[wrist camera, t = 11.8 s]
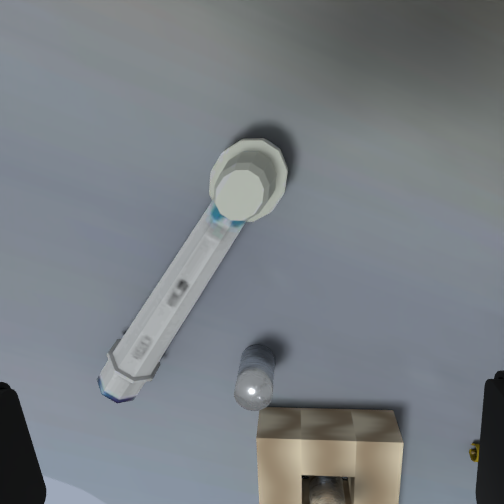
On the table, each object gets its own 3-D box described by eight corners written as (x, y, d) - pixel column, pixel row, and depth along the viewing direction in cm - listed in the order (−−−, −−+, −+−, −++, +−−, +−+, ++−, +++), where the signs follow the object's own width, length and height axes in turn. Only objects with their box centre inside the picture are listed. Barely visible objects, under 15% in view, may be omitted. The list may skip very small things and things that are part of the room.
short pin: (274, 345, 38) (271, 378, 34) (275, 374, 39) (272, 411, 35) (240, 344, 39) (233, 378, 34) (242, 373, 40) (235, 410, 35)
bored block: (393, 410, 39) (403, 442, 36) (385, 511, 43) (394, 550, 40) (259, 406, 41) (256, 438, 37) (263, 506, 44) (261, 543, 41)
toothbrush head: (80, 386, 37) (225, 135, 26) (115, 338, 43) (245, 118, 32) (134, 416, 38) (298, 183, 27) (161, 365, 44) (304, 158, 33)
